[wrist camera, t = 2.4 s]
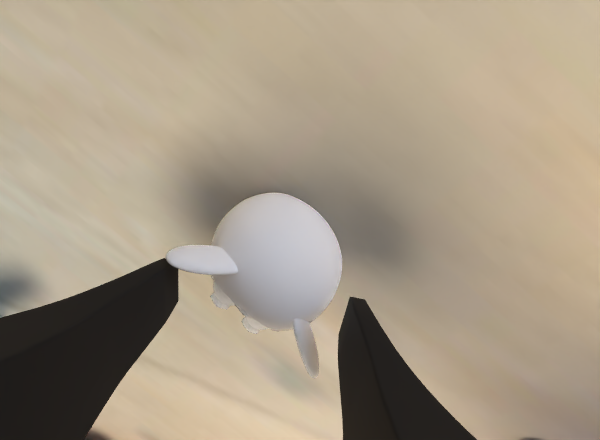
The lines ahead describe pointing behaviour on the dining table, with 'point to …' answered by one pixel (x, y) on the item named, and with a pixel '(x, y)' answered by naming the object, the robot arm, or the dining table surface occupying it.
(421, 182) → the dining table surface
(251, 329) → the figurine
